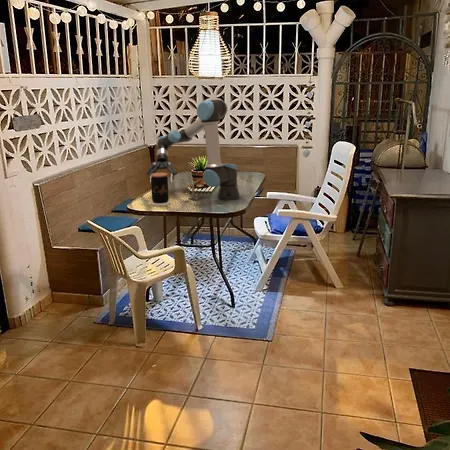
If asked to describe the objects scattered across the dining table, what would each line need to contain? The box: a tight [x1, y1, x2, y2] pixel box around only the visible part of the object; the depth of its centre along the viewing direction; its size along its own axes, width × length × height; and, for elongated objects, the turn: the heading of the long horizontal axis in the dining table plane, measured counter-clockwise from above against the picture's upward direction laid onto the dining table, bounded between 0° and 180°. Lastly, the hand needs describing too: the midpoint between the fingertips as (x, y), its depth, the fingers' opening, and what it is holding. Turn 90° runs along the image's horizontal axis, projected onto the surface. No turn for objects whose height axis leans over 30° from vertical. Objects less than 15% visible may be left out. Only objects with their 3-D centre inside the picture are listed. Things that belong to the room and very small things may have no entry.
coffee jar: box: [150, 172, 170, 203], centre depth 307 cm, size 11×11×18 cm
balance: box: [182, 178, 204, 202], centre depth 318 cm, size 6×17×13 cm, turn 133°
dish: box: [149, 199, 172, 208], centre depth 310 cm, size 13×13×2 cm
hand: (161, 183), depth 315 cm, fingers open, 13 cm apart
